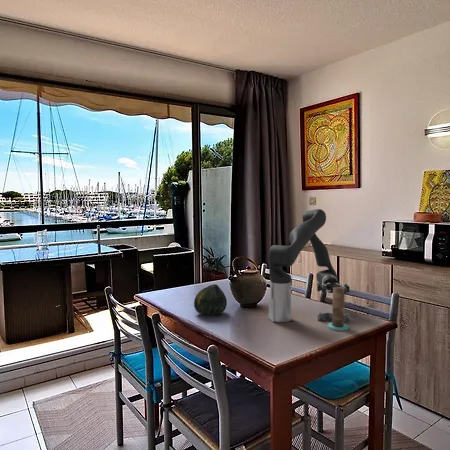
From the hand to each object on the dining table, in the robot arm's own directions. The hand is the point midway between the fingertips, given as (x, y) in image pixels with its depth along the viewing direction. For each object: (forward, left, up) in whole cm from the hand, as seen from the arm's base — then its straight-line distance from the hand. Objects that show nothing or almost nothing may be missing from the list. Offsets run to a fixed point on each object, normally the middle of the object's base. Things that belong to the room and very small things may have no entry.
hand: (334, 291), depth 171 cm
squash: (-53, +20, -13) cm, 58 cm away
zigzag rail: (-1, -2, -13) cm, 13 cm away
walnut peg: (-4, -10, -12) cm, 16 cm away
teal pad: (-4, -10, -13) cm, 17 cm away
